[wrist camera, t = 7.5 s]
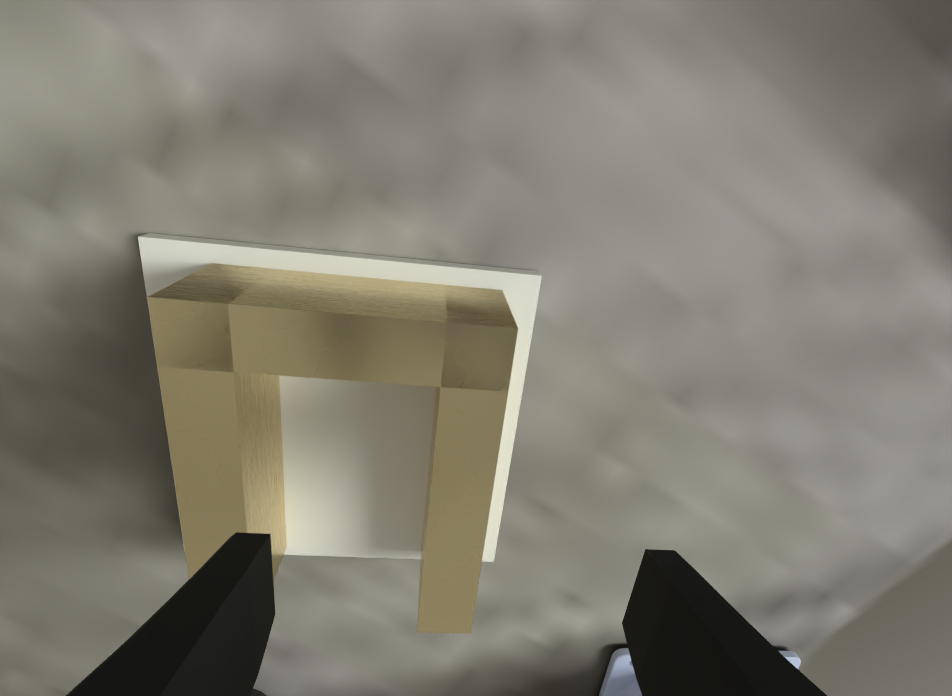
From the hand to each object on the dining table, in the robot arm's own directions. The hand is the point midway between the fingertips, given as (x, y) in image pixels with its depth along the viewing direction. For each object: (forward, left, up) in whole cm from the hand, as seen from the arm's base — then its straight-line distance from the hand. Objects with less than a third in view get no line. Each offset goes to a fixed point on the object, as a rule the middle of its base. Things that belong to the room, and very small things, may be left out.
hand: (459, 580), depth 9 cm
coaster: (+4, +2, -9) cm, 9 cm away
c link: (+3, +2, -8) cm, 9 cm away
